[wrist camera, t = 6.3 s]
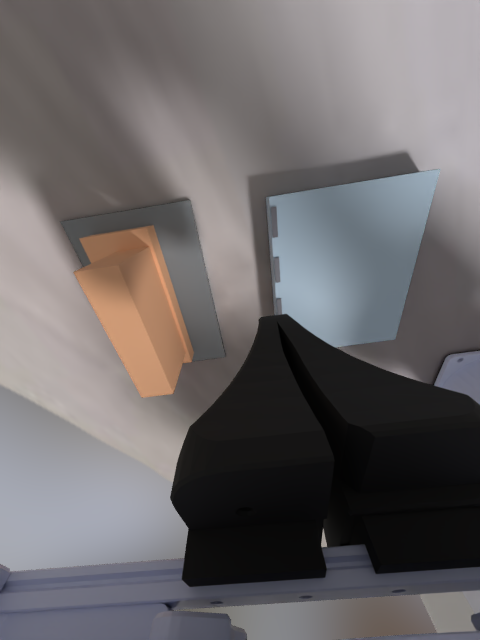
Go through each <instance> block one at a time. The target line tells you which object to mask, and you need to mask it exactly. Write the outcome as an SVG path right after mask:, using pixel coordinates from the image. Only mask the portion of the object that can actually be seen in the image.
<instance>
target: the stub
mask: <svg viewBox="0 0 480 640" xmlns="http://www.w3.org/2000/svg"><path fill="white" fill-rule="evenodd" d="M79 240H80V242H81V244H82V246H83V248H84V250H85V252H86V254H87V256H88V258H89V260H90V262H91V264H89V265H87V266H85V267H83V268H81V269H79V270H77V271H75V272H74V274H75V276H76V278H77V280H78V282H79V283H80V285H81V287H82V289H83V291H84V293H85V294H86V296H87V298H88V300H89V302H90V304H91V305H92V307H93V309H94V311H95V313H96V315H97V316H98V318H99V320H100V322H101V324H102V326H103V327H104V329H105V331H106V333H107V335H108V337H109V338H110V340H111V342H112V344H113V346H114V348H115V349H116V351H117V353H118V355H119V357H120V359H121V360H122V362H123V364H124V366H125V368H126V370H127V371H128V373H129V375H130V377H131V379H132V381H133V382H134V384H135V386H136V388H137V390H138V392H139V393H140V395H141V397H142V398H143V397H151V396H159V395H167V394H174V390H175V387H176V384H177V380H178V377H179V374H180V370H181V367H182V364H183V363H189V362H192V359H193V355H194V351H193V348H192V345H191V342H190V338H189V335H188V332H187V329H186V326H185V323H184V320H183V316H182V313H181V310H180V307H179V304H178V301H177V298H176V294H175V291H174V288H173V285H172V282H171V279H170V276H169V272H168V269H167V266H166V263H165V260H164V257H163V254H162V250H161V247H160V244H159V241H158V238H157V235H156V232H155V228H154V225H152V226H146V227H139V228H133V229H127V230H121V231H115V232H109V233H103V234H96V235H91V236H87V237H83V238H80V239H79Z"/></svg>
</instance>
